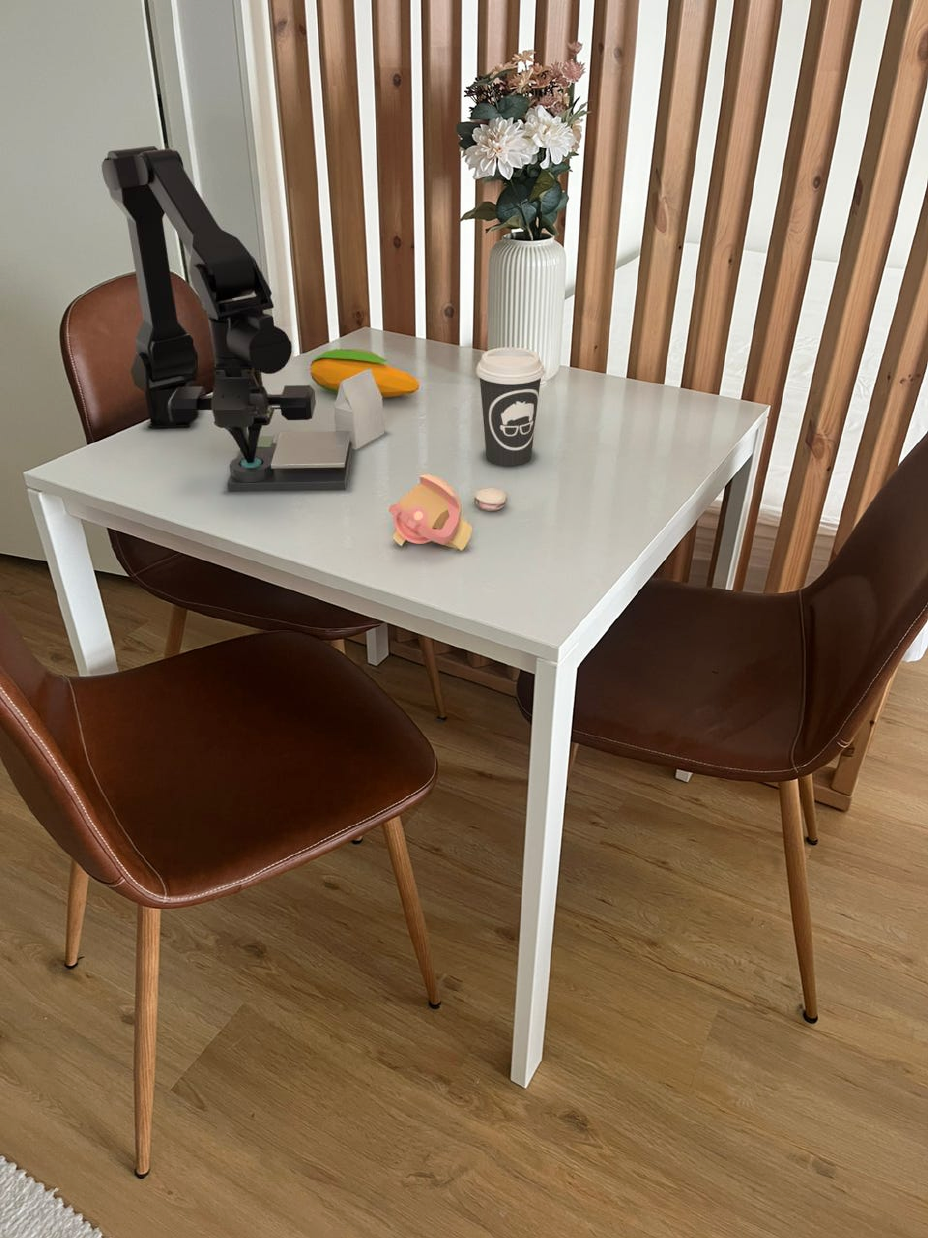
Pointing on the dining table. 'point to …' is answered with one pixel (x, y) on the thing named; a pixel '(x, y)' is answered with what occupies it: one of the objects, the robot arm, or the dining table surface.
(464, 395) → the dining table surface
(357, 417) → the tea bag
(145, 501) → the dining table surface
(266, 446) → the scale display
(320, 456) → the scale pan
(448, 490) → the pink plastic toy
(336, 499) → the dining table surface
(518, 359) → the coffee cup
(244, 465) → the button
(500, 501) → the macaroon
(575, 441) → the dining table surface
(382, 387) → the corn
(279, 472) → the scale
